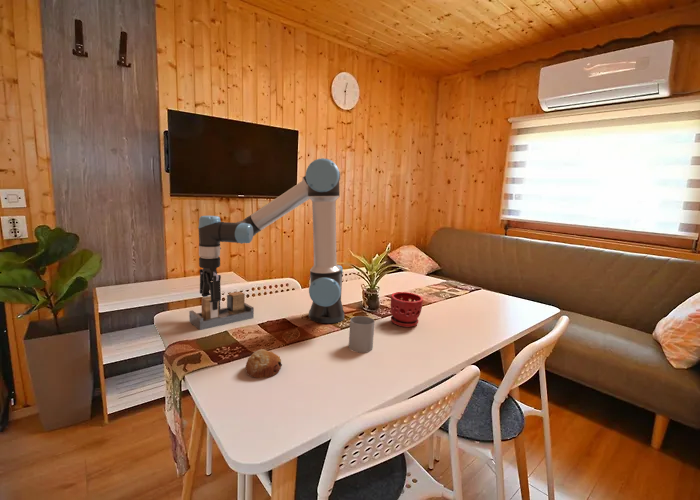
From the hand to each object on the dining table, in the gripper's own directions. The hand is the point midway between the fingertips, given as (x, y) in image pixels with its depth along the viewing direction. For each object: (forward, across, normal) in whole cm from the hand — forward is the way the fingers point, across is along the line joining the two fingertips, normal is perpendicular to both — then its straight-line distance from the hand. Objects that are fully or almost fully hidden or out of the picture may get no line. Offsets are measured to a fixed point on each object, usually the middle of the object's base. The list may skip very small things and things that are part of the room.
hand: (210, 314), depth 141 cm
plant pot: (+4, -47, -63) cm, 79 cm away
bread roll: (+4, -45, +4) cm, 45 cm away
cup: (+3, -52, -31) cm, 61 cm away
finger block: (+1, 0, 0) cm, 1 cm away
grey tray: (+3, 0, -5) cm, 6 cm away
